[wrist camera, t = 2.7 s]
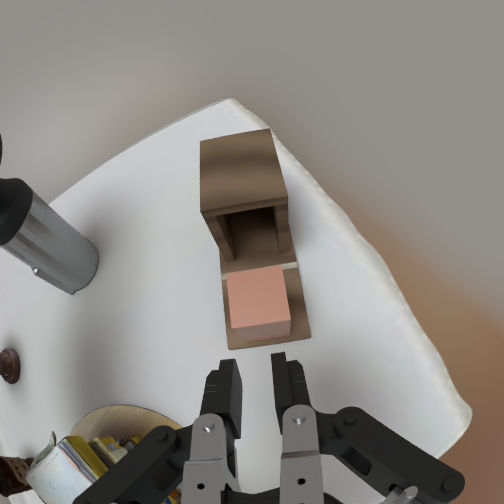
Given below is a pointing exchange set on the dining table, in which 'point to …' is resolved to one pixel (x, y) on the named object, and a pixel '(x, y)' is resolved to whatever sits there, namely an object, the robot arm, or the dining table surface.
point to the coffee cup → (14, 475)
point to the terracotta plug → (259, 304)
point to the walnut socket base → (250, 219)
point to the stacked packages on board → (92, 452)
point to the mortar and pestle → (9, 365)
